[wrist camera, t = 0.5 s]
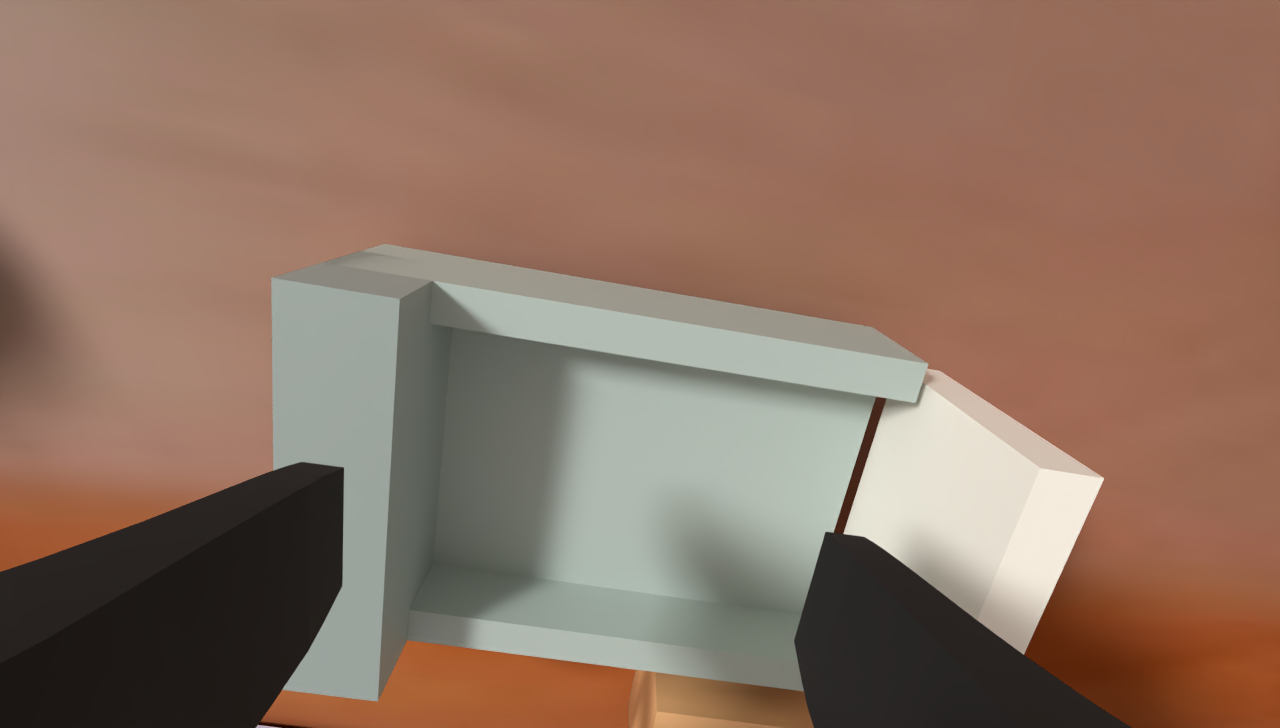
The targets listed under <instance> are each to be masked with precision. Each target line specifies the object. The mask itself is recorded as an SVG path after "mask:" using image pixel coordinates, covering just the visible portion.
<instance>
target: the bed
mask: <svg viewBox="0 0 1280 728" xmlns="http://www.w3.org/2000/svg"><path fill="white" fill-rule="evenodd" d="M927 367H928V363H926V362H925V361H923V360H922V359H920V358H919V357H917V356H916V355H914V354H913V353H911V352H910V351H908V350H906V349H905V348H903V347H902V346H900V345H899V344H897V343H896V342H894V341H893V340H891V339H890V338H888V337H887V336H885V335H884V334H882V333H880V332H879V331H877V330H876V329H874V328H873V327H869V326H863V325H857V324H851V323H845V322H839V321H833V320H828V319H822V318H816V317H810V316H804V315H798V314H792V313H787V312H781V311H775V310H769V309H763V308H757V307H751V306H746V305H740V304H734V303H728V302H722V301H716V300H710V299H705V298H699V297H693V296H687V295H681V294H675V293H669V292H664V291H658V290H652V289H646V288H640V287H634V286H628V285H623V284H617V283H611V282H605V281H599V280H593V279H587V278H582V277H576V276H570V275H564V274H558V273H552V272H546V271H541V270H535V269H529V268H523V267H517V266H511V265H505V264H500V263H494V262H488V261H482V260H476V259H470V258H464V257H459V256H453V255H447V254H441V253H435V252H429V251H423V250H418V249H412V248H406V247H400V246H394V245H388V244H383V245H379V246H376V247H373V248H369V249H366V250H363V251H359V252H356V253H353V254H349V255H346V256H343V257H339V258H336V259H333V260H329V261H326V262H323V263H319V264H316V265H313V266H309V267H306V268H303V269H299V270H296V271H293V272H289V273H286V274H283V275H279V276H276V277H273V278H272V371H273V464H274V470H277V469H279V468H282V467H285V466H289V465H292V464H295V463H299V462H307V463H314V464H322V465H329V466H337V467H344V512H343V582H342V588H341V590H340V592H339V594H338V596H337V598H336V600H335V602H334V604H333V605H332V607H331V609H330V611H329V613H328V615H327V617H326V619H325V621H324V623H323V625H322V627H321V629H320V631H319V632H318V634H317V636H316V638H315V640H314V642H313V643H312V645H311V647H310V649H309V651H308V652H307V654H306V655H305V657H304V658H303V660H302V661H301V663H300V664H299V666H298V667H297V669H296V670H295V672H294V673H293V675H292V676H291V677H290V679H289V680H288V682H287V683H286V685H285V686H284V688H283V689H282V690H289V691H297V692H305V693H313V694H321V695H329V696H338V697H346V698H354V699H362V700H370V701H378V700H379V698H380V696H381V694H382V692H383V689H384V687H385V685H386V683H387V681H388V679H389V677H390V675H391V673H392V671H393V669H394V666H395V664H396V662H397V660H398V658H399V656H400V654H401V652H402V650H403V648H404V646H405V643H406V641H407V640H411V641H419V642H426V643H434V644H442V645H450V646H457V647H465V648H473V649H480V650H488V651H496V652H504V653H511V654H519V655H527V656H535V657H542V658H550V659H558V660H565V661H573V662H581V663H589V664H596V665H604V666H612V667H620V668H627V669H635V670H643V671H650V672H658V673H666V674H674V675H681V676H689V677H697V678H705V679H712V680H720V681H728V682H735V683H743V684H751V685H759V686H766V687H774V688H782V689H790V690H797V691H804V689H803V685H802V680H801V675H800V670H799V665H798V659H797V654H796V649H795V644H794V639H795V635H796V632H797V628H798V625H799V621H800V618H801V615H802V611H803V608H804V604H805V601H806V597H807V594H808V590H809V587H810V583H811V580H812V576H813V573H814V570H815V566H816V563H817V559H818V556H819V552H820V549H821V545H822V542H823V538H824V535H825V532H832V533H834V530H835V526H836V523H837V520H838V517H839V514H840V510H841V507H842V504H843V501H844V498H845V494H846V491H847V488H848V485H849V482H850V478H851V475H852V472H853V469H854V466H855V463H856V459H857V456H858V453H859V450H860V447H861V443H862V440H863V437H864V434H865V431H866V427H867V424H868V421H869V418H870V415H871V411H872V408H873V405H874V402H875V399H876V397H882V398H888V399H894V400H900V401H906V402H912V403H916V400H917V397H918V394H919V391H920V388H921V385H922V382H923V379H924V376H925V373H926V370H927Z"/></svg>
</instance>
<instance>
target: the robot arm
mask: <svg viewBox="0 0 1280 728" xmlns="http://www.w3.org/2000/svg"><path fill="white" fill-rule="evenodd" d="M343 512H344V467H337V466H329V465H322V464H314V463H307V462H299V463H295V464H292V465H289V466H285V467H282V468H279V469H277V470H274V471H271V472H268V473H266V474H263V475H260V476H258V477H255V478H252V479H250V480H247V481H245V482H242V483H240V484H237V485H235V486H232V487H229V488H227V489H224V490H222V491H219V492H217V493H214V494H212V495H209V496H207V497H204V498H202V499H199V500H197V501H194V502H192V503H189V504H186V505H184V506H181V507H179V508H176V509H174V510H171V511H169V512H166V513H164V514H161V515H159V516H156V517H153V518H151V519H148V520H146V521H143V522H140V523H138V524H135V525H132V526H129V527H127V528H124V529H121V530H118V531H116V532H113V533H110V534H107V535H105V536H102V537H99V538H96V539H93V540H91V541H88V542H85V543H82V544H80V545H77V546H74V547H71V548H69V549H66V550H63V551H60V552H58V553H55V554H52V555H49V556H47V557H44V558H41V559H38V560H35V561H32V562H29V563H26V564H23V565H20V566H17V567H14V568H11V569H8V570H5V571H2V572H0V728H280V727H272V726H263V725H258V724H259V722H260V721H261V720H262V718H263V717H264V715H265V714H266V712H267V711H268V710H269V708H270V707H271V705H272V704H273V702H274V701H275V699H276V698H277V696H278V695H279V694H280V692H281V691H282V689H283V688H284V686H285V685H286V683H287V682H288V680H289V679H290V677H291V676H292V675H293V673H294V672H295V670H296V669H297V667H298V666H299V664H300V663H301V661H302V660H303V658H304V657H305V655H306V654H307V652H308V651H309V649H310V647H311V645H312V643H313V642H314V640H315V638H316V636H317V634H318V632H319V631H320V629H321V627H322V625H323V623H324V621H325V619H326V617H327V615H328V613H329V611H330V609H331V607H332V605H333V604H334V602H335V600H336V598H337V596H338V594H339V592H340V590H341V588H342V582H343ZM794 644H795V649H796V654H797V659H798V665H799V670H800V675H801V680H802V685H803V689H804V694H805V698H806V703H807V707H808V711H809V714H810V717H811V720H812V723H813V726H814V728H1131V727H1130V726H1128V725H1127V724H1125V723H1123V722H1122V721H1120V720H1119V719H1117V718H1115V717H1114V716H1112V715H1111V714H1109V713H1108V712H1106V711H1105V710H1103V709H1102V708H1100V707H1099V706H1097V705H1096V704H1094V703H1093V702H1091V701H1090V700H1088V699H1086V698H1085V697H1083V696H1082V695H1081V694H1079V693H1078V692H1076V691H1075V690H1073V689H1072V688H1070V687H1069V686H1068V685H1066V684H1065V683H1063V682H1062V681H1060V680H1059V679H1058V678H1056V677H1055V676H1053V675H1052V674H1050V673H1049V672H1048V671H1046V670H1045V669H1043V668H1042V667H1040V666H1039V665H1038V664H1036V663H1035V662H1033V661H1032V660H1031V659H1029V658H1028V657H1026V656H1025V655H1023V654H1022V653H1021V652H1019V651H1018V650H1017V649H1015V648H1014V647H1013V646H1011V645H1010V644H1008V643H1007V642H1006V641H1004V640H1003V639H1002V638H1000V637H999V636H998V635H996V634H995V633H994V632H992V631H991V630H990V629H988V628H987V627H986V626H984V625H983V624H982V623H980V622H979V621H978V620H976V619H975V618H974V617H972V616H971V615H970V614H968V613H967V612H966V611H964V610H963V609H962V608H961V607H959V606H958V605H957V604H955V603H954V602H953V601H951V600H950V599H949V598H948V597H946V596H945V595H944V594H942V593H941V592H940V591H938V590H937V589H936V588H935V587H933V586H932V585H931V584H929V583H928V582H927V581H925V580H924V579H923V578H922V577H920V576H919V575H918V574H916V573H915V572H914V571H912V570H911V569H910V568H909V567H907V566H906V565H905V564H903V563H902V562H900V561H899V560H898V559H896V558H895V557H894V556H892V555H891V554H890V553H888V552H887V551H885V550H884V549H883V548H881V547H880V546H878V545H877V544H875V543H874V542H872V541H870V540H869V539H867V538H865V537H862V536H855V535H847V534H840V533H832V532H825V535H824V538H823V542H822V545H821V549H820V552H819V556H818V559H817V563H816V566H815V570H814V573H813V576H812V580H811V583H810V587H809V590H808V594H807V597H806V601H805V604H804V608H803V611H802V615H801V618H800V621H799V625H798V628H797V632H796V635H795V639H794Z"/></svg>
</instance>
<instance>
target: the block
mask: <svg viewBox="0 0 1280 728" xmlns="http://www.w3.org/2000/svg"><path fill="white" fill-rule="evenodd" d="M628 728H814V726H813V723H812V720H811V717H810V714H809V711H808V707H807V703H806V698H805V694H804V691H797V690H790V689H782V688H774V687H766V686H759V685H751V684H743V683H735V682H728V681H720V680H712V679H705V678H697V677H689V676H681V675H674V674H666V673H658V672H650V671H643V670H635V673H634V678H633V683H632V687H631V692H630V697H629V701H628Z"/></svg>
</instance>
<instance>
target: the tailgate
mask: <svg viewBox="0 0 1280 728" xmlns="http://www.w3.org/2000/svg"><path fill="white" fill-rule="evenodd" d="M1103 480H1104V478H1103V477H1101V476H1100V475H1098V474H1097V473H1095V472H1094V471H1092V470H1091V469H1089V468H1088V467H1086V466H1084V465H1083V464H1081V463H1080V462H1078V461H1077V460H1075V459H1074V458H1072V457H1071V456H1069V455H1068V454H1066V453H1065V452H1063V451H1062V450H1060V449H1058V448H1057V447H1055V446H1054V445H1052V444H1051V443H1049V442H1048V441H1046V440H1045V439H1043V438H1042V437H1040V436H1039V435H1037V434H1036V433H1034V432H1032V431H1031V430H1029V429H1028V428H1026V427H1025V426H1023V425H1022V424H1020V423H1019V422H1017V421H1016V420H1014V419H1013V418H1011V417H1010V416H1008V415H1006V414H1005V413H1003V412H1002V411H1000V410H999V409H997V408H996V407H994V406H993V405H991V404H990V403H988V402H987V401H985V400H983V399H982V398H980V397H979V396H977V395H976V394H974V393H973V392H971V391H970V390H968V389H967V388H965V387H964V386H962V385H961V384H959V383H957V382H956V381H954V380H953V379H951V378H950V377H948V376H947V375H945V374H944V373H942V372H941V371H937V370H931V369H927V370H926V373H925V376H924V379H923V382H922V385H921V388H920V391H919V394H918V397H917V400H916V403H912V402H906V401H900V400H894V399H888V398H887V399H886V402H885V405H884V408H883V411H882V414H881V417H880V421H879V424H878V427H877V430H876V433H875V436H874V439H873V442H872V446H871V449H870V452H869V455H868V458H867V461H866V464H865V468H864V471H863V474H862V477H861V480H860V483H859V486H858V489H857V493H856V496H855V499H854V502H853V505H852V508H851V511H850V515H849V518H848V521H847V524H846V527H845V530H844V533H843V534H847V535H855V536H862V537H865V538H867V539H869V540H870V541H872V542H874V543H875V544H877V545H878V546H880V547H881V548H883V549H884V550H885V551H887V552H888V553H890V554H891V555H892V556H894V557H895V558H896V559H898V560H899V561H900V562H902V563H903V564H905V565H906V566H907V567H909V568H910V569H911V570H912V571H914V572H915V573H916V574H918V575H919V576H920V577H922V578H923V579H924V580H925V581H927V582H928V583H929V584H931V585H932V586H933V587H935V588H936V589H937V590H938V591H940V592H941V593H942V594H944V595H945V596H946V597H948V598H949V599H950V600H951V601H953V602H954V603H955V604H957V605H958V606H959V607H961V608H962V609H963V610H964V611H966V612H967V613H968V614H970V615H971V616H972V617H974V618H975V619H976V620H978V621H979V622H980V623H982V624H983V625H984V626H986V627H987V628H988V629H990V630H991V631H992V632H994V633H995V634H996V635H998V636H999V637H1000V638H1002V639H1003V640H1004V641H1006V642H1007V643H1008V644H1010V645H1011V646H1013V647H1014V648H1015V649H1017V650H1018V651H1019V652H1021V653H1022V654H1023V655H1024V653H1025V651H1026V649H1027V647H1028V644H1029V642H1030V640H1031V638H1032V636H1033V634H1034V631H1035V629H1036V627H1037V625H1038V623H1039V620H1040V618H1041V616H1042V614H1043V612H1044V609H1045V607H1046V605H1047V603H1048V601H1049V598H1050V596H1051V594H1052V592H1053V590H1054V587H1055V585H1056V583H1057V581H1058V579H1059V576H1060V574H1061V572H1062V570H1063V568H1064V566H1065V563H1066V561H1067V559H1068V557H1069V555H1070V552H1071V550H1072V548H1073V546H1074V544H1075V541H1076V539H1077V537H1078V535H1079V533H1080V530H1081V528H1082V526H1083V524H1084V522H1085V519H1086V517H1087V515H1088V513H1089V511H1090V508H1091V506H1092V504H1093V502H1094V500H1095V497H1096V495H1097V493H1098V491H1099V489H1100V487H1101V484H1102V482H1103Z"/></svg>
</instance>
